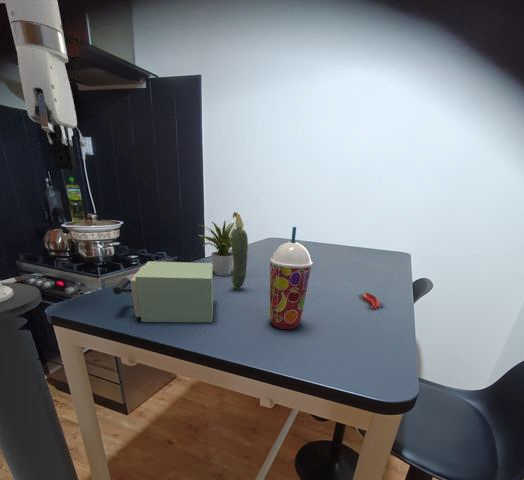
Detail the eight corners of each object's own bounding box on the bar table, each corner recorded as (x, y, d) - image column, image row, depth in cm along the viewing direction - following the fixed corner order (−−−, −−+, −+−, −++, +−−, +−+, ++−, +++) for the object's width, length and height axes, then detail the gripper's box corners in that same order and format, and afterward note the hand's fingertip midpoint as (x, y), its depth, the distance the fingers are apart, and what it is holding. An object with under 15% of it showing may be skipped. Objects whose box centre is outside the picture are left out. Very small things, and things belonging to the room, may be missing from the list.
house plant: (213, 264, 111) (212, 214, 103) (250, 270, 107) (252, 218, 100) (193, 274, 99) (190, 218, 91) (233, 280, 95) (234, 223, 88)
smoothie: (276, 313, 74) (283, 222, 65) (309, 322, 71) (322, 227, 61) (258, 325, 68) (264, 226, 58) (294, 335, 64) (307, 232, 55)
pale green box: (141, 322, 66) (135, 276, 61) (152, 301, 77) (147, 261, 72) (212, 322, 68) (211, 278, 63) (213, 301, 79) (212, 263, 74)
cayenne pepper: (379, 310, 80) (381, 303, 79) (361, 307, 81) (362, 300, 80) (379, 296, 90) (381, 290, 89) (362, 294, 91) (364, 287, 91)
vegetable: (248, 289, 89) (251, 212, 79) (241, 293, 86) (243, 213, 76) (235, 286, 91) (236, 210, 81) (227, 290, 87) (227, 211, 77)
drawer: (113, 316, 65) (107, 279, 61) (127, 298, 75) (122, 265, 71) (201, 317, 68) (200, 281, 64) (203, 299, 77) (202, 267, 74)
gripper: (38, 57, 60) (62, 168, 69) (-12, 24, 47) (26, 167, 56) (81, 61, 61) (99, 171, 70) (43, 31, 48) (71, 170, 57)
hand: (66, 169), depth 63 cm, fingers closed
